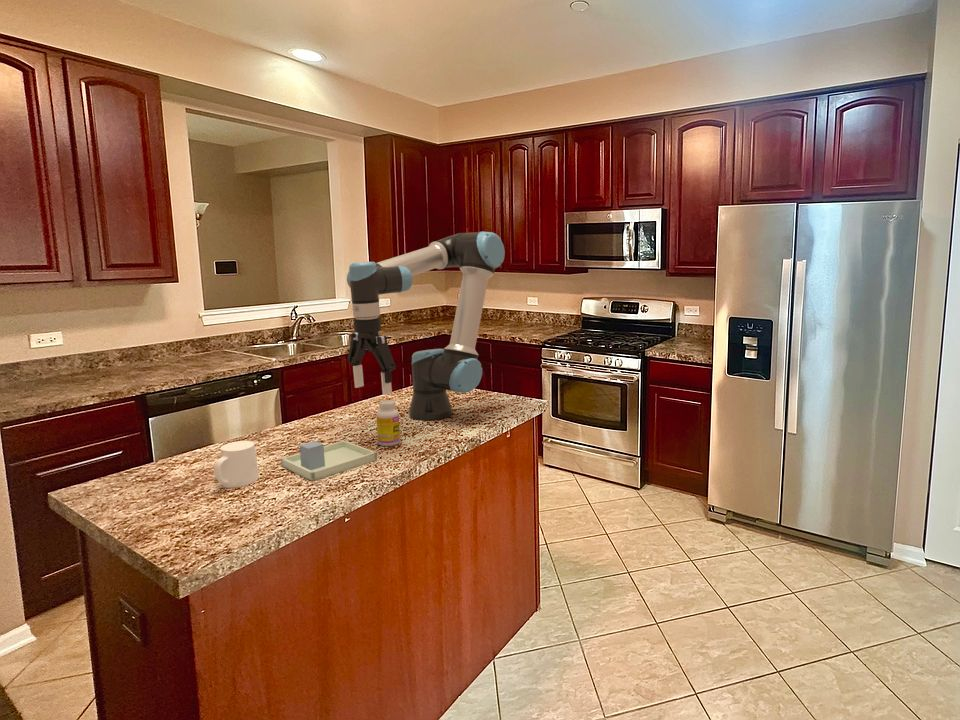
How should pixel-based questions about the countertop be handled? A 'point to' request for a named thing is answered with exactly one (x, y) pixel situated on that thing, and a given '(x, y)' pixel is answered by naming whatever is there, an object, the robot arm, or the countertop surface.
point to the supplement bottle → (388, 424)
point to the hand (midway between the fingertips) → (373, 390)
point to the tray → (332, 460)
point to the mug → (237, 464)
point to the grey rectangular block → (312, 455)
